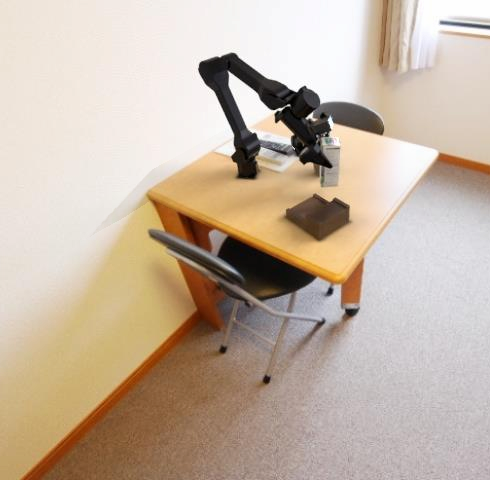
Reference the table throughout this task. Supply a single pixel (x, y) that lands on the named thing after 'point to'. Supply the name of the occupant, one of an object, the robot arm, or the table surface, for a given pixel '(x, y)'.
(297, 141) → the end cap
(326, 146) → the syrup box
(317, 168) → the vase
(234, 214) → the table surface
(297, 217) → the dark brown boxy piece
